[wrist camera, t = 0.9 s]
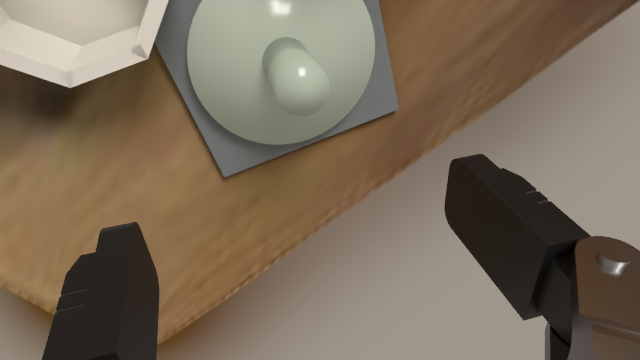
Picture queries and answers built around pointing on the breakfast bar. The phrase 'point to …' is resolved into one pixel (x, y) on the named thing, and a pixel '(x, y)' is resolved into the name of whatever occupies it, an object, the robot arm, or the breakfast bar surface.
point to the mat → (245, 153)
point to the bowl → (77, 36)
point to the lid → (280, 64)
